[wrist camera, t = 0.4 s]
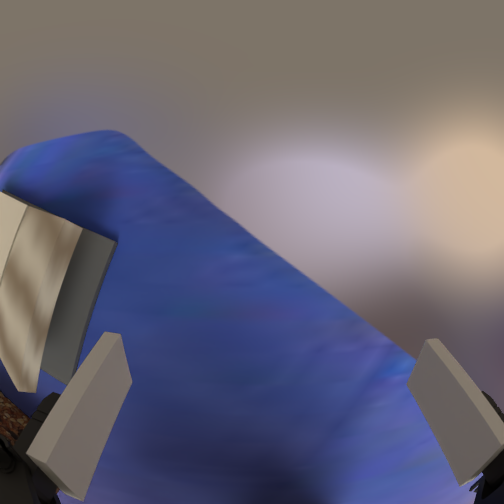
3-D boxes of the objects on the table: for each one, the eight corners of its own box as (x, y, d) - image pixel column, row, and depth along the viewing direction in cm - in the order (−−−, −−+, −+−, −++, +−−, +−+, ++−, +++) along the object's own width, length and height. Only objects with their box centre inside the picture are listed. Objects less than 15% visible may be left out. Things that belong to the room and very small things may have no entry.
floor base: (73, 384, 25) (60, 391, 22) (-30, 307, 23) (-44, 306, 20) (117, 243, 28) (108, 237, 25) (6, 192, 27) (-6, 184, 24)
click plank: (35, 392, 18) (18, 391, 16) (3, 339, 23) (-10, 335, 21) (82, 228, 21) (65, 219, 19) (41, 213, 26) (28, 205, 24)
